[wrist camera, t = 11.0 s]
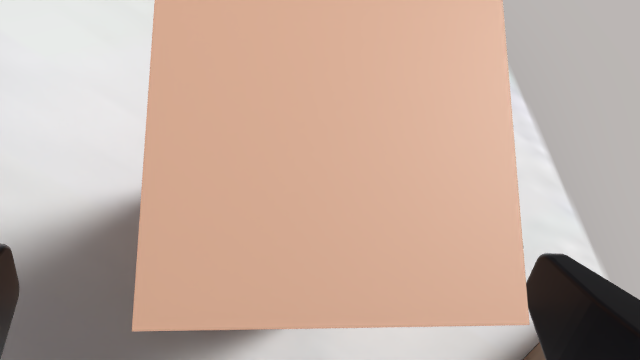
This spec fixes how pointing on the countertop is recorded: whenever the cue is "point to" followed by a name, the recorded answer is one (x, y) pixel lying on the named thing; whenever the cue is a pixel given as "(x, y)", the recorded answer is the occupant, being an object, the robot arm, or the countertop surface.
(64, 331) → the countertop surface
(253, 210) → the peach block
